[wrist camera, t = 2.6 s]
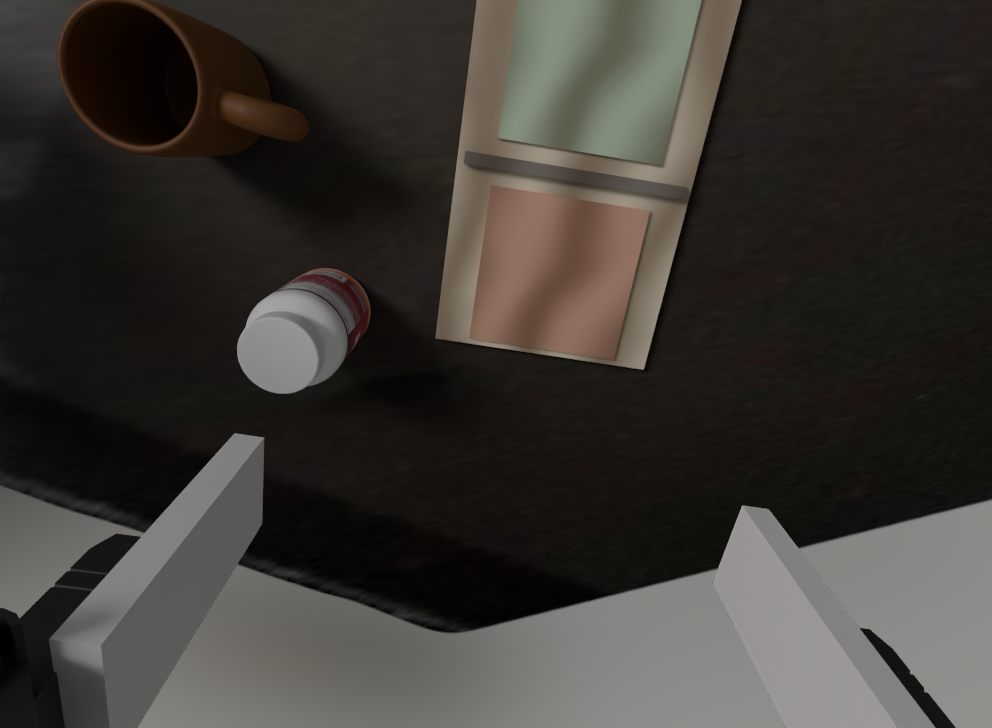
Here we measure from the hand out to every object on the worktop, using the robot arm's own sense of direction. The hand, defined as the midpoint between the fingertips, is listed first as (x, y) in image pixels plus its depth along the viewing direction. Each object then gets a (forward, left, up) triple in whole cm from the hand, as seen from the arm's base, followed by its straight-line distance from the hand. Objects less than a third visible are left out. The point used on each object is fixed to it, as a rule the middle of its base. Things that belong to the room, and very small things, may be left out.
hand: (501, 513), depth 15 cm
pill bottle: (-12, -4, -28) cm, 31 cm away
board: (+4, +8, -28) cm, 29 cm away
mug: (-18, +9, -28) cm, 35 cm away
